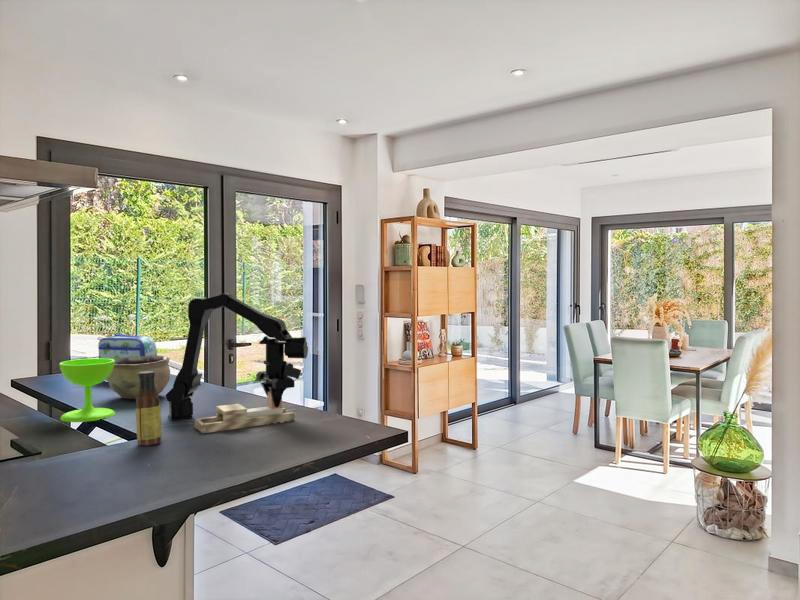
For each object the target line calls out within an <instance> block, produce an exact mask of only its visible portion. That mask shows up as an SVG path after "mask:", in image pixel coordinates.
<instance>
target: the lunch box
mask: <svg viewBox="0 0 800 600" xmlns="http://www.w3.org/2000/svg"><path fill="white" fill-rule="evenodd" d="M97 347H98V358H103V359H117V358H123V357H139V356H150V355H158V354H157V353H158V351H157V346H156V342H155V340H154V339H152V337H149V336H143V335H128V334H121V333H116V334H114V335H113V336H108V337H102V338H101V339H99V342H98V346H97ZM105 380H107V381H108V377H107V378H106V379H105Z"/></svg>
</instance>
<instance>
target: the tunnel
mask: <svg viewBox="0 0 800 600" xmlns="http://www.w3.org/2000/svg"><path fill="white" fill-rule="evenodd" d="M247 409H248V408H247V407H245V406H243V405H241V404H240V403H235V404H234V403H233V404H224V405H216V406H215V415H216V416H208V417H200V418H194V428H195V429H197V431H199V432H200V433H201V434H207V433H216V432H223V431H229V430H236V429H243V428H251V427H256V426H257V427H258V426H264V425H265V424H266V425H270V423H273V424H278V423H277V422H280V423H285V422H284V421H287V422H292V421H291V420H294V421H295V412H293V411H290V412H286V410H287V409H286V407H282V414H275V415H267V416H259V417H252V418H247Z"/></svg>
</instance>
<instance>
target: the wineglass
mask: <svg viewBox="0 0 800 600" xmlns="http://www.w3.org/2000/svg"><path fill="white" fill-rule="evenodd" d="M114 363H115V360H114V359H103V358H99V357H98V358H80V359H70V360H65V361H61V362H59V363H58V365H59V369H60V373H61V374H62V376H63V377H64V378H65V379H66V380H67V381H68V382H70V383H71V384H73V385H76V386H78V387H79V386H80V387H84V406H83V407H82V408H80V409H75V410H71V411H68V412H65V413H63V414H62V415H61V416H60V421H62V422H64V423H65V422H67V423H87V422H94V421H100V419H102V418H106V417H110V416H112V417H114V416H115V415H116V411H114V410H113V409H112V408H109V407H108V408H107V407H94V406H93V405H92V387H93V386H96V385H99V384H101V383H103V381H104V380H105V379H106V378H107V377H108V376H109V375H110V374H111V372H112V370H113V368H114ZM114 414H115V415H114ZM113 415H114V416H113ZM110 418H111V417H110ZM106 419H107V418H106ZM102 420H103V419H102Z"/></svg>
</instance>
